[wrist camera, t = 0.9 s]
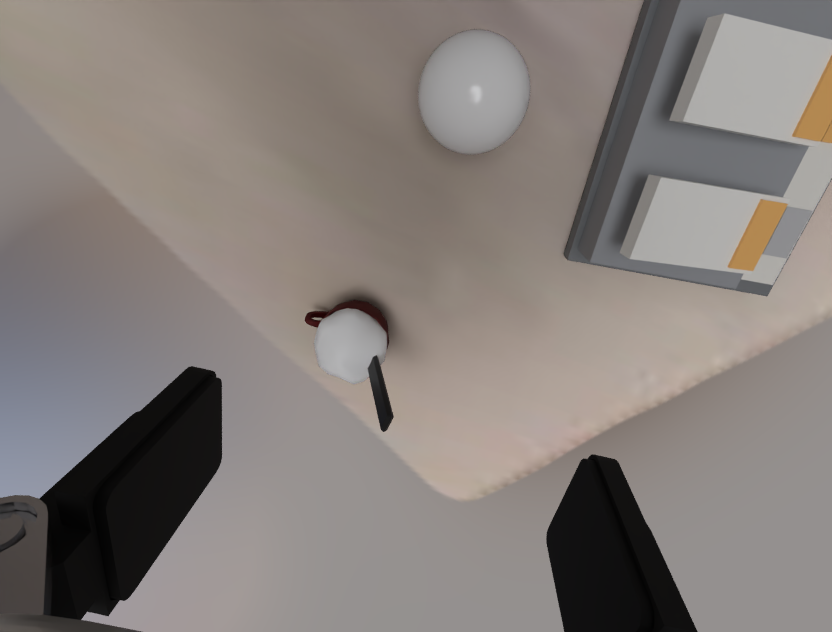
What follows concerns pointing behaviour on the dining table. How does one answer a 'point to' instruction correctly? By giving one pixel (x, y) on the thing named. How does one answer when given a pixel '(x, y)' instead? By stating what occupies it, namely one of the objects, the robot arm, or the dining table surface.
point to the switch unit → (694, 144)
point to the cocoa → (354, 348)
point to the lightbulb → (474, 91)
